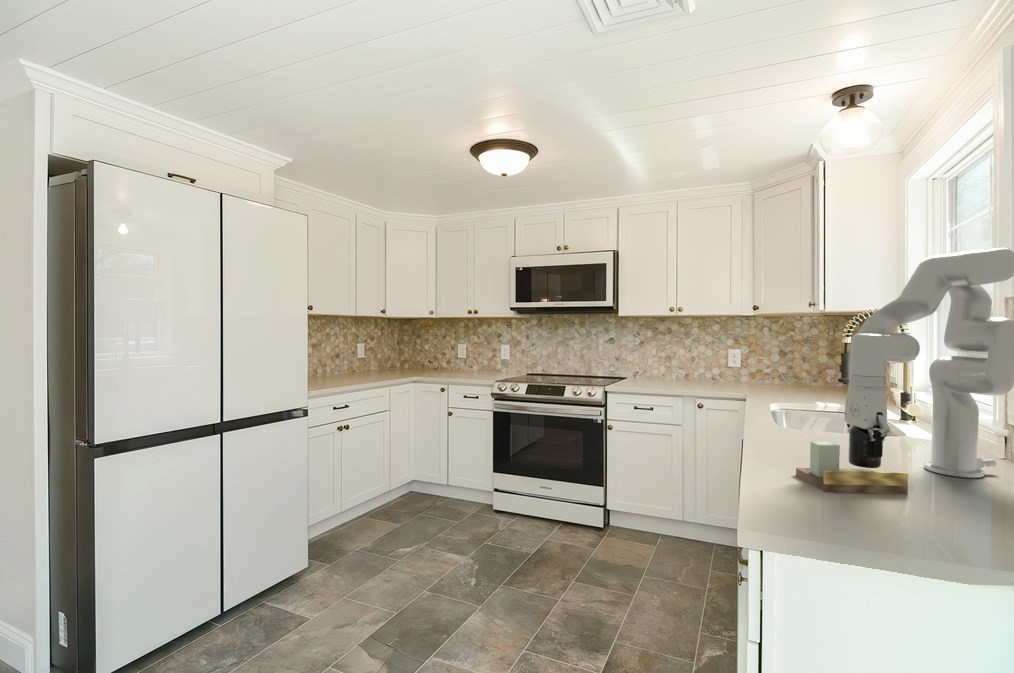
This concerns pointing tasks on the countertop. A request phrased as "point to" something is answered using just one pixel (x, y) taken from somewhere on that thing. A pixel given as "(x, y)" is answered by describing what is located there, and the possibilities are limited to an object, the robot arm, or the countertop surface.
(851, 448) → the supplement bottle
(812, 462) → the product box
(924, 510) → the countertop surface
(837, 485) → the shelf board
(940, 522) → the countertop surface
